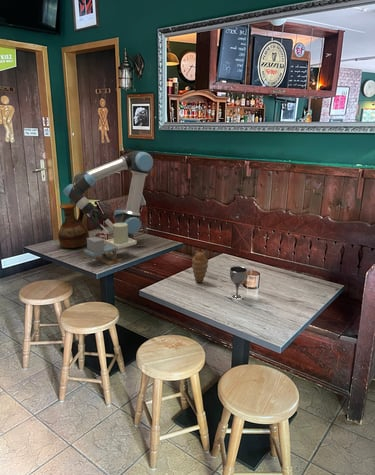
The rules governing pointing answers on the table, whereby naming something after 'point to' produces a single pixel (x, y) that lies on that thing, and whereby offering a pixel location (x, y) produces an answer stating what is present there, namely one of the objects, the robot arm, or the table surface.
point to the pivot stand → (109, 258)
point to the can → (120, 233)
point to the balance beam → (97, 245)
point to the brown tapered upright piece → (199, 266)
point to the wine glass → (237, 277)
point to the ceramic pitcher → (72, 228)
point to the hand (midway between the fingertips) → (110, 230)
